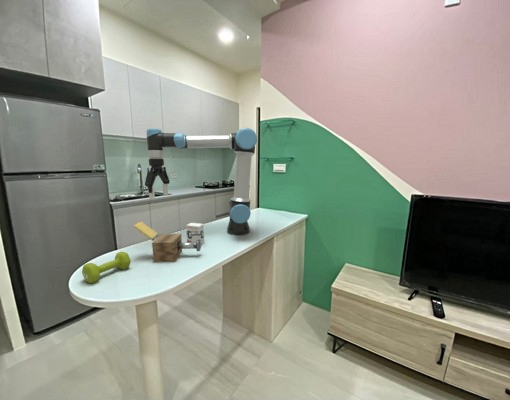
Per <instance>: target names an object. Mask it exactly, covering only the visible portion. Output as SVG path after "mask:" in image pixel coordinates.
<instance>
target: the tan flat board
mask: <svg viewBox="0 0 510 400" xmlns="http://www.w3.org/2000/svg"><path fill="white" fill-rule="evenodd" d="M132 227H133V228H134V229H136V230H137V231H139V232H140V233H142V235H144V236H145V237H147V238H148V239H150V240H151V241H152V242H154V241H155V240H156V239H157V238H158V237H159V236H160V234H159V233H157V232H156V231H155V230H153V229H152V228H151V227H150V226H148V225H147V224H145V223H144V222H143V221H139V222H138V223H137V222H136V223H135V224H134V225H133V226H132Z"/></svg>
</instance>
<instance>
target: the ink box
mask: <svg viewBox="0 0 510 400" xmlns="http://www.w3.org/2000/svg"><path fill="white" fill-rule="evenodd" d="M185 227H186V243H188V242H197V240H201V247H202V246H203V245H204V244H205V230H204V229H205V227H204V223H198V222H190V223H188V224H186V225H185Z"/></svg>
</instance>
